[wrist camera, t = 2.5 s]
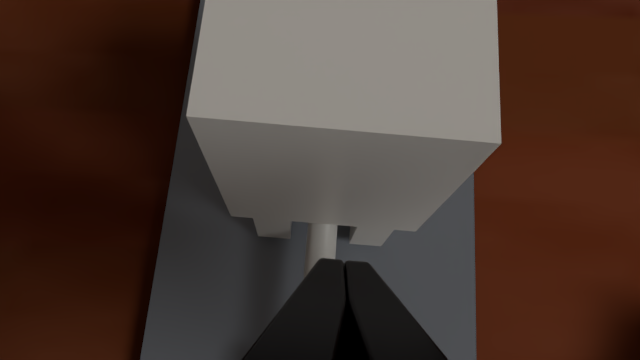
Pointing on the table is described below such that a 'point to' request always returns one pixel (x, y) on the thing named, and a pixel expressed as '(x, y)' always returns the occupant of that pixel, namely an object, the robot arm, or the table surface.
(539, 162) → the table surface
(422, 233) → the flat grey panel
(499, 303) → the table surface
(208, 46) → the stepped pale block
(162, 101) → the table surface
